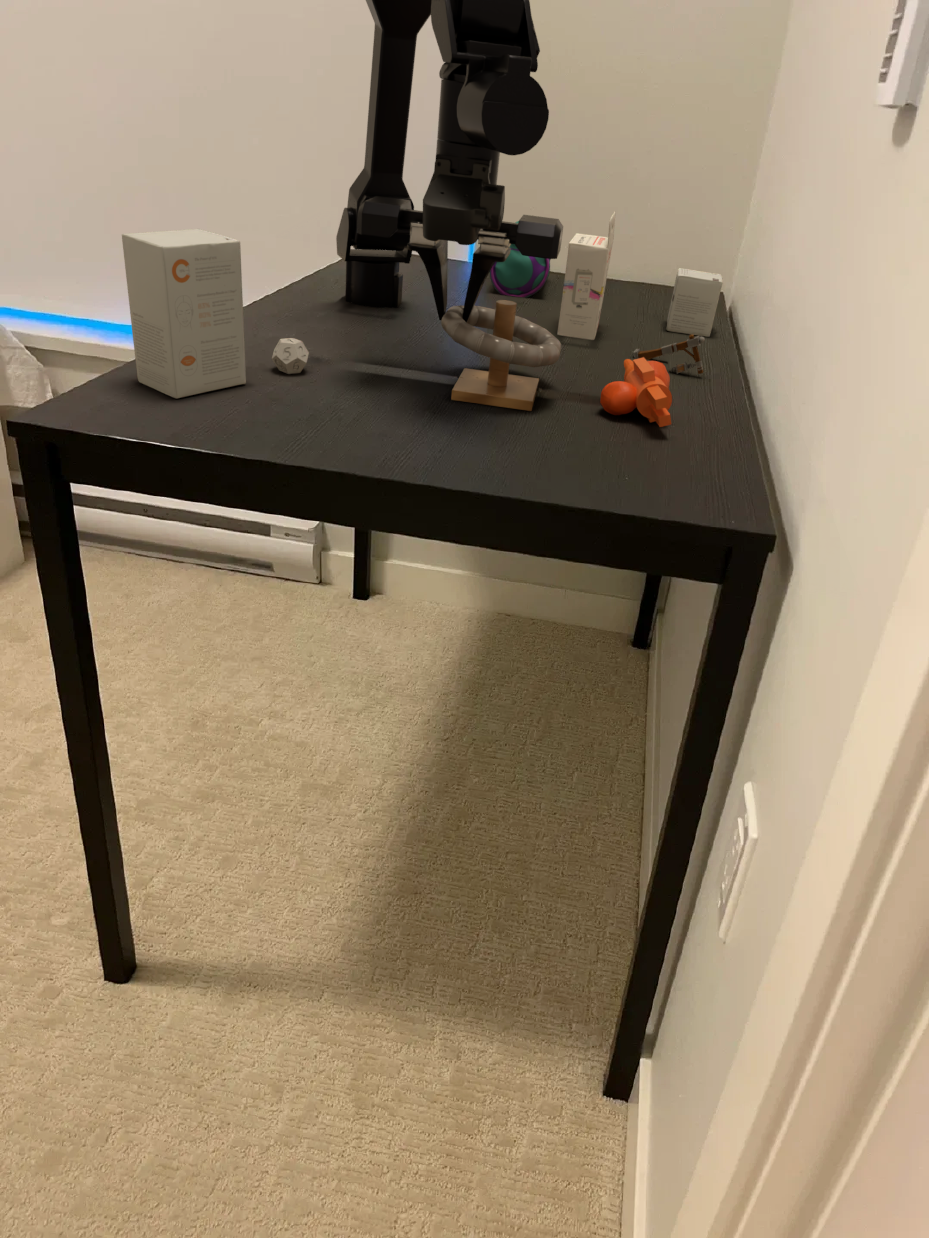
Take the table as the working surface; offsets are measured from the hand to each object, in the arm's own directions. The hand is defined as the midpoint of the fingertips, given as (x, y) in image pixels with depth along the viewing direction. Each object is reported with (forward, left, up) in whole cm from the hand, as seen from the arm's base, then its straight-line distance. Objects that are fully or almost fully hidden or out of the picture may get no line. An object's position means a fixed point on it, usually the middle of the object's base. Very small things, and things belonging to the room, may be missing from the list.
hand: (453, 321), depth 87 cm
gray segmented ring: (+5, 0, -1) cm, 5 cm away
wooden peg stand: (+5, 0, -7) cm, 8 cm away
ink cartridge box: (+12, +28, -7) cm, 31 cm away
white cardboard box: (+27, +41, -7) cm, 50 cm away
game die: (-16, -2, -7) cm, 17 cm away
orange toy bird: (+19, -1, -7) cm, 20 cm away
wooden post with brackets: (+23, +18, -7) cm, 30 cm away
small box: (-23, -10, -7) cm, 26 cm away
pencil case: (+2, +53, -7) cm, 53 cm away
